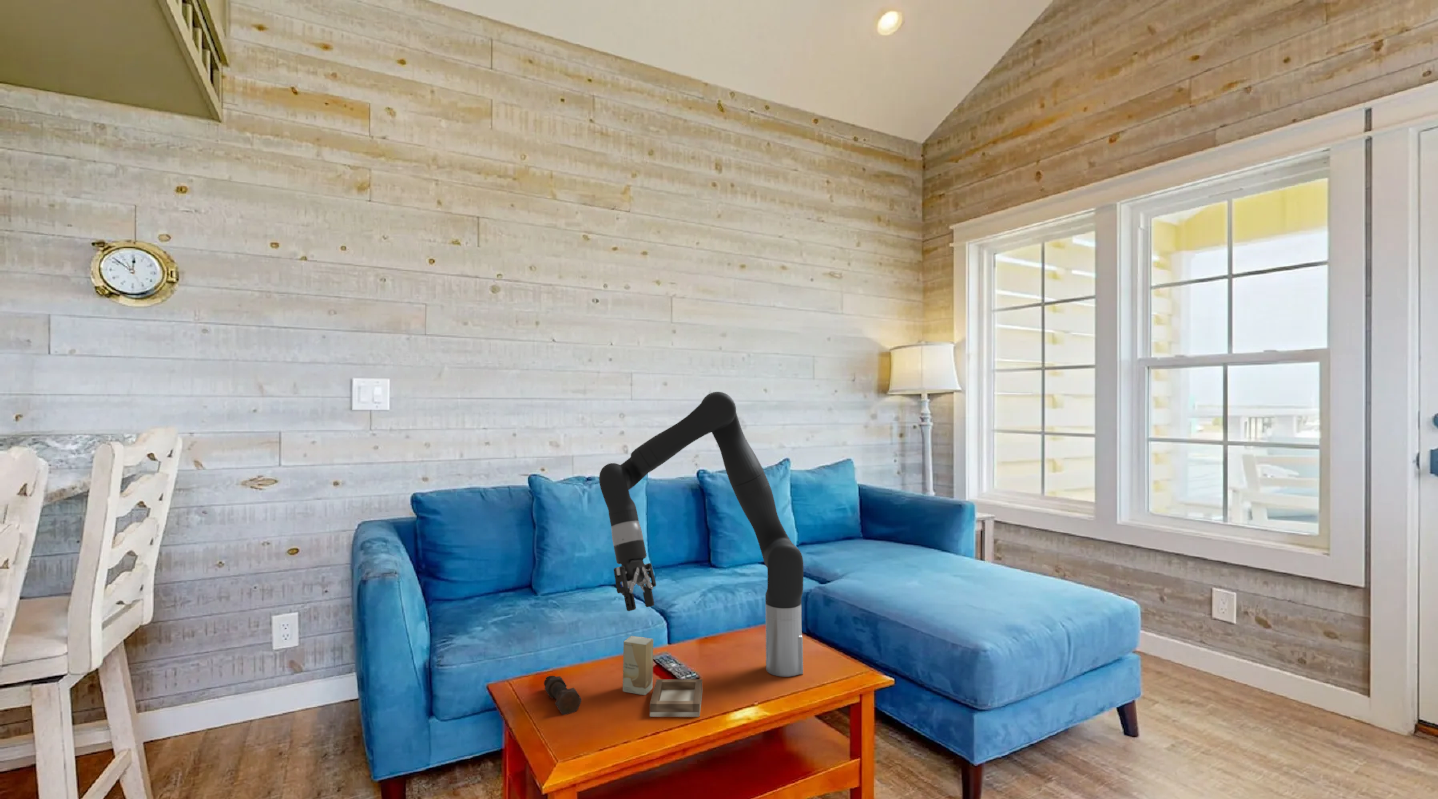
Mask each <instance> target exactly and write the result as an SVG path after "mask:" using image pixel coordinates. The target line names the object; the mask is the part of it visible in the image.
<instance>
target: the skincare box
mask: <svg viewBox="0 0 1438 799" xmlns="http://www.w3.org/2000/svg"><path fill="white" fill-rule="evenodd" d="M622 650H623V654H622V655H623V656H622V657H623V659H622V661H623V662H622V692H623V693H629V694H636V695H641V696H642V695H643V696H646V695H647V694H649V693H650V692H651V690H652V689H654V687H653V685H654V684H653V683H654V682H653V680H654V679H653V678H654V638H649V637H643V636H635V635H630V636H629V637H627V638H626V639H625V640H623V649H622Z"/></svg>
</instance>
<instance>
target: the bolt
mask: <svg viewBox="0 0 1438 799" xmlns="http://www.w3.org/2000/svg"><path fill="white" fill-rule="evenodd" d="M543 684H544V691H545V692H546V693H547V695H548V697H549V698H550V699H556V700H555V703H554V705H555V706H556V708H557V709H558V710H559V712H560V714H561V715H562V716H563V715H570V714H574V713H575V712H577V710H579V707H580V706H581V702H582V701H583V700H582V697H581V696H580V695H579V694H580V693H578V691H577V690H576V688H574V687H571V688H567V686H568V685H567V684H566V682H565V681H564V679H563V678H562V677H561V676H555V675H548V676H546V677H545V679H544V681H543Z"/></svg>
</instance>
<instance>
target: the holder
mask: <svg viewBox="0 0 1438 799" xmlns="http://www.w3.org/2000/svg"><path fill="white" fill-rule="evenodd" d="M650 698H651V699H650V702H649V717H650V718H651V717H654V718H655V717H658V718H659V717H660V718H664V717H667V718H668V717H669V718H671V717H672V718H673V717H675V718H676V717H677V718H678V717H679V718H682V717H683V718H687V717H688V718H690V717H691V718H692V717H693V718H699V717H700V715H701V708H702V707H701V706H702V698H703V679H699V678H698V679H697V678H696V679H693V678H692V679H690V678H689V679H688V678H687V679H684V678H683V679H681V678H680V679H679V678H676V679H675V678H674V679H671V678H670V679H667V678H666V679H656V680H655V684H654V687H653V691H652V695H651V697H650Z"/></svg>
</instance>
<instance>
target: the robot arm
mask: <svg viewBox="0 0 1438 799" xmlns="http://www.w3.org/2000/svg"><path fill="white" fill-rule="evenodd" d="M710 433H712V436H713V438H714V440H715V442H716V443H717V446H718V448H719V450H720V454H721V458H722V462H723V466H724V469H725V471H726V476H727V477H728V478H727V479H728V480H729V484H730V486H731V488H732V491H733V493H734V495H735V497H736V499H737V501H738V503H739V506H740V508H741V509H742V512H743V513H744V515H745V517H746V518H747V520H748V521H749V523H750V525H751V527H752V529H753V531H754V533H755V534H754V535H755V537H756V539H757V542H758V545H759V549H760V552H761V555H762V559H763V563H764V564H765V567H766V568H767V587H766V588H767V589H766V592H765V596H764V598H765V670H766V672H767V673H768V674H770V675H773V676H775V677H781V678H782V677H783V678H784V677H795V676H798V675H803V674H804V653H803V652H804V646H803V644H804V642H803V640H804V639H803V633H802V631H803V630H802V597H803V593H804V558H803V554H802V553H801V550H800V549H799V548H798V547H797V546H796V545H795V544H794V543H793V542H792V541H791V539H790V537H789V536H788V534H787V532H786V531H785V529H784V526H783V525H782V522H781V520H780V518H779V515H778V512H777V511H778V510H777V507H776V502H775V498H774V494H773V491H772V488H771V485H770V483H769V481H768V478H767V476H766V473H765V472H764V469H763V466H762V465H761V462H760V461H759V459H758V457H757V455H756V454H755V452H754V451H753V448H752V447H751V445H750V444H749V442H748V440H747V438H746V436H745V434H744V432H743V428H742V427H741V423H740V420H739V417H738V413H737V406H736V403H735V401H734V399H733V398H732V397H731V396H730V395H728V393H725V392H723V391H713V392H709V393H708V394H706V396H705V397H704V398H702V401H701V403H700V404H699V405H698V406H696V407H695V409H693V410H692V411H691V412H690V413H688V415H687V416H686V417H684V418H683V419H681V420H680V421H678V422H677V423H675V424H674V425H671V426H670V427H668V428H667V429H664V430H663V431H661V432H660V433H658V434H656V435H654V436H653V437H651V438H649V439H648V440H647V441H645V442H644V443H642V444H641V445H640V446H638V447H637V448H635V449H634V450H632V451H631V453H630V457H629V458H628V459H626V460H625V461H623V463H621V464H619V463H616V462H612V463H611V462H610V463H607V464H605V465H603V467H602V468H601V470H600V472H599V476H598V480H599V487H600V491H601V494H602V496H603V499H604V502H605V505H606V507H607V510H608V517H609V523H610V528H611V529H610V530H611V538H612V544H613V550H614V555H615V562H616V564H618V565H621V566H618V567H614V568H613V574H614V580H615V586H616V587H615V588H616V592H617V594H621V595H622V596H623V598H624V599H623V600H624V603H625V608H626V611H628V612H630V611H634V610H636V609H637V607H636V600H635V594H634V587H635V586H636V585H637V586H638V587H640V589H641V590H642V595H643V599H644V604H645V605H644V606H645V607H646V608H650V607H653V606H655V599H654V594H653V589H654V587H655V588H656V586H657V582H656V577H655V574H654V570H653V569H654V568H653V565H652V563H651V562H648V563H645V562H644V559H646V558H647V552H646V551H647V550H646V546H645V539H644V536H643V530H642V527H641V524H640V520H639V516H638V511H637V510H638V509H637V506H636V503H635V502H634V500H633V499H632V497H631V494H630V490H631V489H632V488H634V487H635V486H636V485H638V484H639V482H640V481H641V480H643V479H644V478H645V477H646V476H647V475H648V474H649V473H651V472H652V471H654V470H655V469H657V468H658V467H660V466H661V465H663V464H664V463H666V462H667V461H669V460H670V459H672V458H673V457H674V456H675V455H676V454H678V453H679V452H681V451H682V450H683V449H685V448H687V447H688V446H689V445H690V444H692V443H694V442H695V441H697V440H699V439H701V438H702V437H704V436H706V435H708V434H710Z"/></svg>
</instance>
